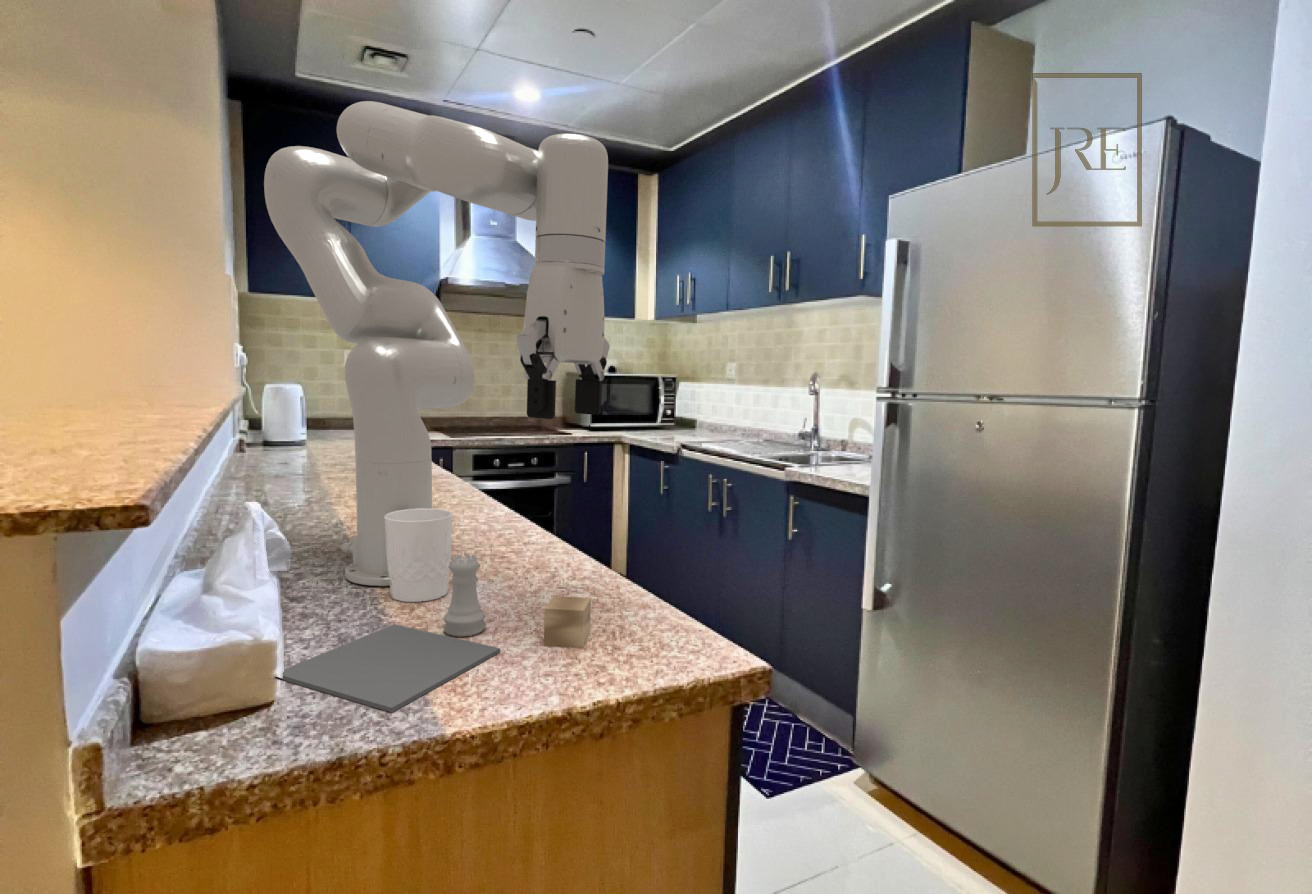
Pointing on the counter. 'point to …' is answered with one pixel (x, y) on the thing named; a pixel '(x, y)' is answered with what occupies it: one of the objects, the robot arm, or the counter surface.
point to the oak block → (567, 622)
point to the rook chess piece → (464, 599)
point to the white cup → (418, 553)
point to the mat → (389, 666)
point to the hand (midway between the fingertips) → (565, 415)
